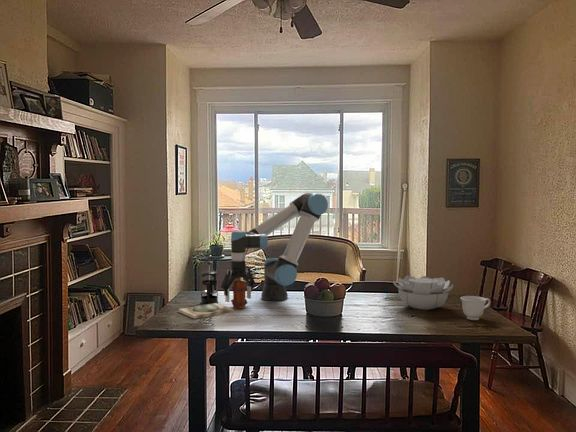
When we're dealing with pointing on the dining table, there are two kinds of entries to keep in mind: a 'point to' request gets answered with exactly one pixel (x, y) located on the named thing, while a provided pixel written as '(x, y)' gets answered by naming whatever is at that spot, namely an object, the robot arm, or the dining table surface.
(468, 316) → the teacup
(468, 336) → the dining table surface
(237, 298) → the mug
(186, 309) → the serving board
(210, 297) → the french press
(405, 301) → the decorative bowl
